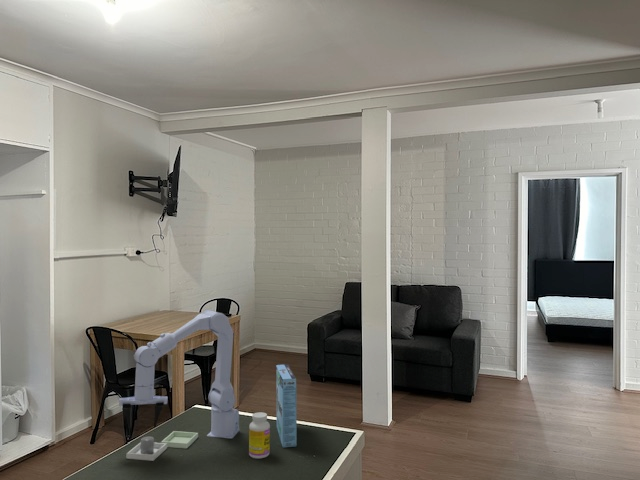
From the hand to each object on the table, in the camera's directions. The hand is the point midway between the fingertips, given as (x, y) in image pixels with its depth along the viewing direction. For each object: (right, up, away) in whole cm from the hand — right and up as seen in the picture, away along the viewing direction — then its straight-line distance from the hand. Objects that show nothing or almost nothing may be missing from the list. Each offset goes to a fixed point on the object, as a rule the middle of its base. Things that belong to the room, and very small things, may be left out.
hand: (142, 426), depth 153 cm
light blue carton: (+45, -10, +15) cm, 48 cm away
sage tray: (+9, -9, +9) cm, 16 cm away
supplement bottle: (+37, -9, 0) cm, 39 cm away
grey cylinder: (+1, -8, 0) cm, 9 cm away
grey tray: (+1, -9, 0) cm, 9 cm away
